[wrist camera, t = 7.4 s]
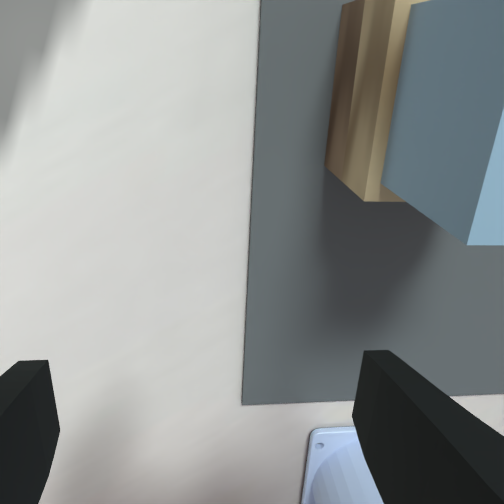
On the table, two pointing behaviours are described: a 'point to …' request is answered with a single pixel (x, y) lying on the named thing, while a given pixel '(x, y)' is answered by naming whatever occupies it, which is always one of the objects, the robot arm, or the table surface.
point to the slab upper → (375, 97)
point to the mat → (348, 249)
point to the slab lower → (343, 85)
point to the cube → (451, 118)
